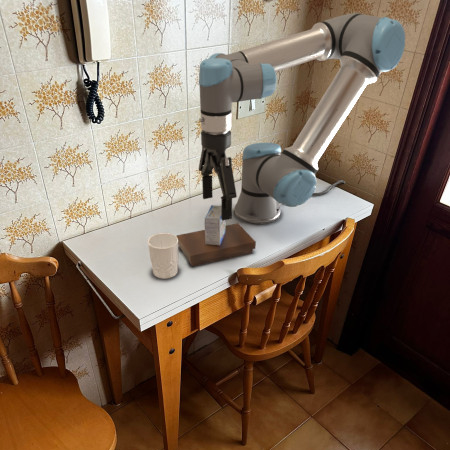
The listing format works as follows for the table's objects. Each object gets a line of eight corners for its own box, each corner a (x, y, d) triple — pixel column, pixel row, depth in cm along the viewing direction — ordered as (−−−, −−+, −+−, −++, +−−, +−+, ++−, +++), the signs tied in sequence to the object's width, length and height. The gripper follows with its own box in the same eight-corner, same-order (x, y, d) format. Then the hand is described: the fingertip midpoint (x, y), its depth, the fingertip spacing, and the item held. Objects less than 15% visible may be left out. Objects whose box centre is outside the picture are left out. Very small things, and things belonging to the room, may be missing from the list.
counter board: (237, 234, 138) (238, 222, 136) (254, 253, 130) (255, 241, 127) (177, 247, 132) (176, 235, 129) (190, 268, 123) (190, 256, 121)
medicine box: (220, 246, 125) (220, 219, 120) (204, 244, 126) (204, 217, 120) (225, 232, 131) (226, 206, 126) (210, 231, 132) (210, 204, 126)
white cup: (147, 278, 119) (143, 246, 113) (156, 262, 125) (153, 231, 119) (175, 281, 118) (173, 250, 112) (183, 265, 124) (181, 234, 118)
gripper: (184, 117, 117) (188, 192, 130) (222, 149, 99) (222, 231, 113) (211, 114, 119) (212, 187, 133) (252, 144, 101) (248, 226, 115)
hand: (216, 208), depth 123 cm, fingers open, 13 cm apart
